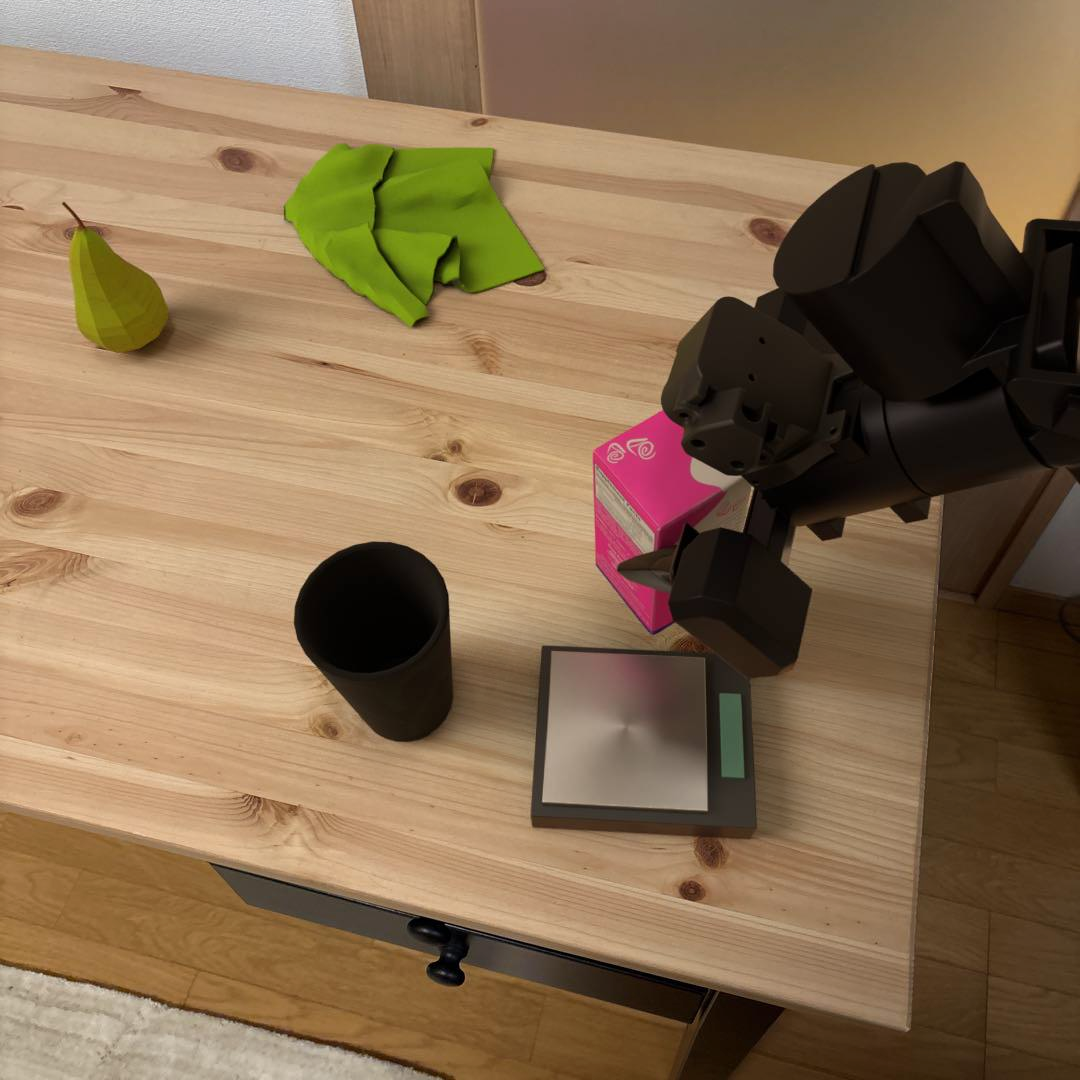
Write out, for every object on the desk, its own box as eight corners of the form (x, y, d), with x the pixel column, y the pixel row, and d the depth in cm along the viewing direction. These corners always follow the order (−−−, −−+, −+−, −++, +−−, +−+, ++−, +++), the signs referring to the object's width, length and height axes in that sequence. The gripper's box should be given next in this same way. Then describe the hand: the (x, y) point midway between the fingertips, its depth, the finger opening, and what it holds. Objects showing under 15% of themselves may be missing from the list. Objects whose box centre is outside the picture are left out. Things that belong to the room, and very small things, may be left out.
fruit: (142, 380, 73) (71, 256, 62) (76, 352, 74) (-5, 226, 64) (196, 320, 75) (136, 192, 65) (131, 294, 77) (62, 165, 67)
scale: (743, 670, 60) (750, 649, 57) (750, 839, 55) (759, 825, 52) (542, 661, 61) (541, 640, 58) (532, 827, 56) (529, 813, 53)
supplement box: (670, 514, 59) (686, 392, 50) (733, 587, 57) (763, 474, 47) (590, 562, 58) (590, 446, 48) (650, 640, 55) (663, 534, 46)
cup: (495, 675, 60) (478, 582, 50) (424, 783, 57) (390, 708, 47) (390, 617, 62) (353, 517, 52) (316, 719, 59) (261, 633, 49)
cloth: (314, 135, 86) (308, 111, 84) (568, 155, 83) (567, 130, 81) (243, 313, 76) (234, 290, 73) (530, 340, 73) (528, 317, 71)
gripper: (849, 135, 41) (590, 279, 53) (753, 504, 32) (467, 578, 44) (983, 310, 46) (720, 405, 58) (932, 668, 37) (634, 695, 49)
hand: (643, 507), depth 52 cm, fingers closed on supplement box, 8 cm apart
